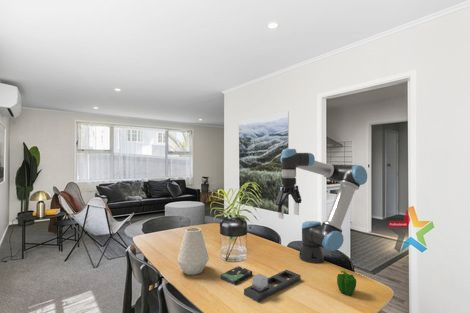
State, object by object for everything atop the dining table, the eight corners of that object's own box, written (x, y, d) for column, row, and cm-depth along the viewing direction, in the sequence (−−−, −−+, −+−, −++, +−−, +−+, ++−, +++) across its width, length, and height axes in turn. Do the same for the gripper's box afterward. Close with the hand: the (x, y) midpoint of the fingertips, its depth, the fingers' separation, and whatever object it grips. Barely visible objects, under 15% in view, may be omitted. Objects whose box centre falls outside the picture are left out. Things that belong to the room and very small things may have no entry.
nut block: (259, 290, 125) (259, 273, 125) (267, 294, 121) (267, 276, 121) (252, 293, 121) (252, 276, 121) (260, 298, 117) (260, 280, 118)
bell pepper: (358, 292, 123) (358, 271, 123) (353, 299, 117) (353, 276, 117) (340, 286, 129) (340, 266, 129) (334, 292, 122) (334, 271, 122)
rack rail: (286, 274, 142) (286, 269, 142) (300, 280, 135) (300, 275, 135) (243, 294, 120) (243, 289, 120) (257, 302, 114) (257, 296, 114)
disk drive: (237, 270, 147) (220, 279, 136) (238, 265, 147) (220, 274, 136) (252, 276, 141) (235, 286, 129) (252, 271, 141) (235, 280, 129)
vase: (213, 266, 152) (213, 226, 152) (201, 279, 135) (201, 235, 135) (185, 262, 157) (186, 224, 157) (171, 275, 140) (171, 232, 140)
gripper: (296, 175, 152) (296, 212, 152) (268, 178, 135) (268, 218, 135) (307, 176, 146) (307, 214, 146) (279, 178, 130) (279, 221, 130)
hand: (288, 216), depth 141 cm, fingers open, 13 cm apart
